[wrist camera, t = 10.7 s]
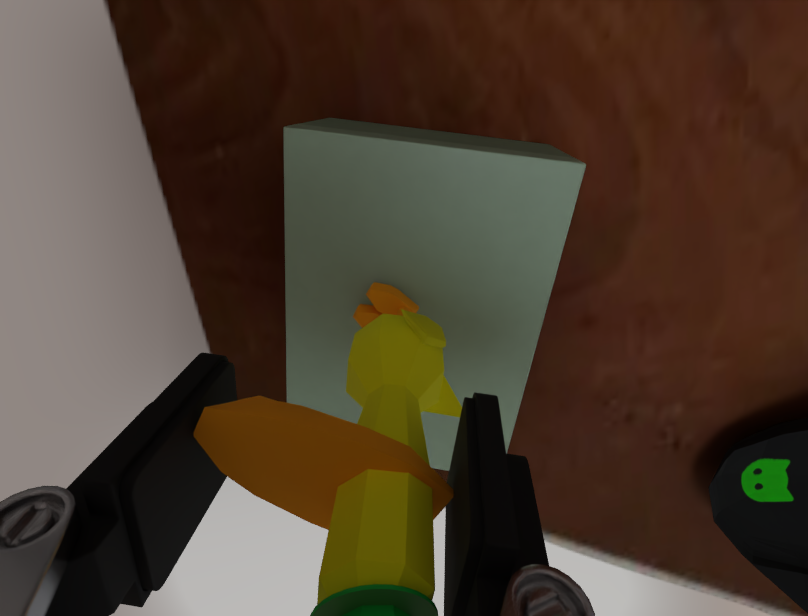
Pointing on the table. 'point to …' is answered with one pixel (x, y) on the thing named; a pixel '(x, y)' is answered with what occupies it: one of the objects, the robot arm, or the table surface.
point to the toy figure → (355, 462)
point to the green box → (421, 254)
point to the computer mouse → (768, 504)
